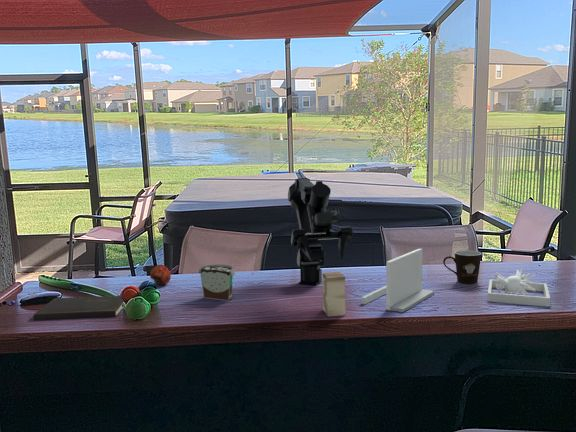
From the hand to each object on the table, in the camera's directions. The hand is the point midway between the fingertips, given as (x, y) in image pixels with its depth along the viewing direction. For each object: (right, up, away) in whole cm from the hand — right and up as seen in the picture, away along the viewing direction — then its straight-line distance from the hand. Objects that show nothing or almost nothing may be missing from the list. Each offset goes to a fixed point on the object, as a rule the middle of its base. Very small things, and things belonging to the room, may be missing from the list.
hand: (326, 259), depth 156 cm
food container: (-33, -13, +12) cm, 37 cm away
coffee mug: (+48, -10, +23) cm, 54 cm away
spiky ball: (+58, -12, +6) cm, 59 cm away
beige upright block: (+2, -15, -6) cm, 16 cm away
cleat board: (+22, -12, +5) cm, 26 cm away
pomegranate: (-56, -12, +28) cm, 64 cm away
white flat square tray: (+59, -12, +5) cm, 60 cm away
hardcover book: (-73, -16, +2) cm, 75 cm away
